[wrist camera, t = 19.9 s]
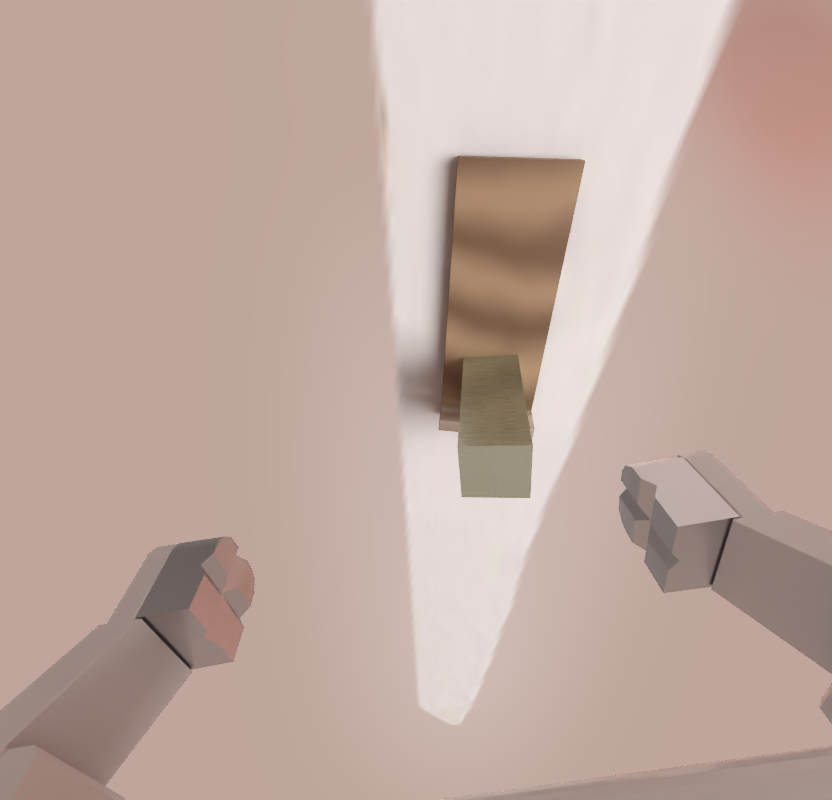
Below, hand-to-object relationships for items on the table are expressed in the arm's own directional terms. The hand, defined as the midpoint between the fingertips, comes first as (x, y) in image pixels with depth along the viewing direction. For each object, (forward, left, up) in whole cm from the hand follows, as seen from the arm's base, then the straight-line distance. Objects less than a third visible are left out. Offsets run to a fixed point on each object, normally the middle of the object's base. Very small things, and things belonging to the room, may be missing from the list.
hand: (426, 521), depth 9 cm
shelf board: (+5, +7, -31) cm, 32 cm away
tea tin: (+10, +10, -29) cm, 33 cm away
